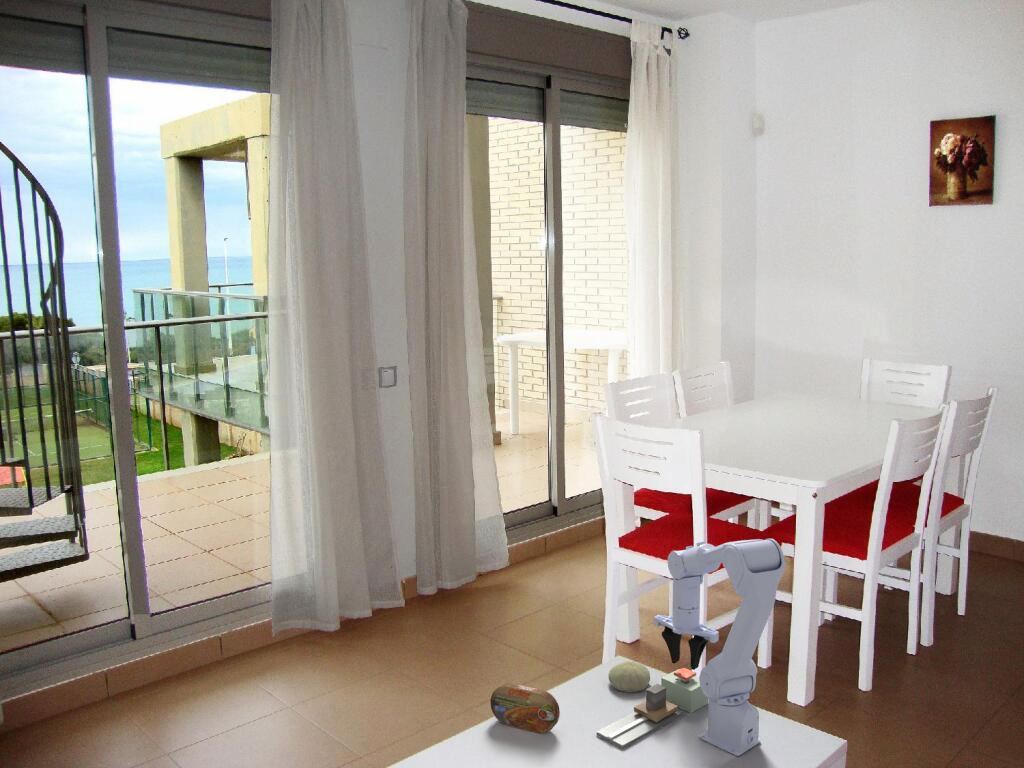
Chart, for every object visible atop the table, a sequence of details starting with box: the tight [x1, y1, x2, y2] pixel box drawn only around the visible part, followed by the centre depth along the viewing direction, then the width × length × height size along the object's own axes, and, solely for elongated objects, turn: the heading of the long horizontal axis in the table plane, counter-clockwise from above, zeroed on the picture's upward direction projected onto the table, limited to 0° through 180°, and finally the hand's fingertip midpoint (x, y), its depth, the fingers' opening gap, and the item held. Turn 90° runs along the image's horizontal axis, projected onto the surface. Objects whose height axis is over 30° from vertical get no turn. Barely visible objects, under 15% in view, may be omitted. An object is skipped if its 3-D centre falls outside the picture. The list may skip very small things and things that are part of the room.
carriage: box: [633, 683, 679, 722], centre depth 190 cm, size 6×7×5 cm
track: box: [596, 709, 684, 750], centre depth 187 cm, size 7×19×1 cm, turn 132°
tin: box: [490, 682, 561, 734], centre depth 187 cm, size 15×3×8 cm, turn 62°
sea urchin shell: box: [607, 660, 651, 693], centre depth 204 cm, size 9×8×8 cm
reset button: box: [673, 667, 697, 684], centre depth 196 cm, size 3×3×2 cm
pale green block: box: [660, 668, 709, 714], centre depth 196 cm, size 8×6×5 cm
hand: (685, 664), depth 195 cm, fingers open, 4 cm apart
